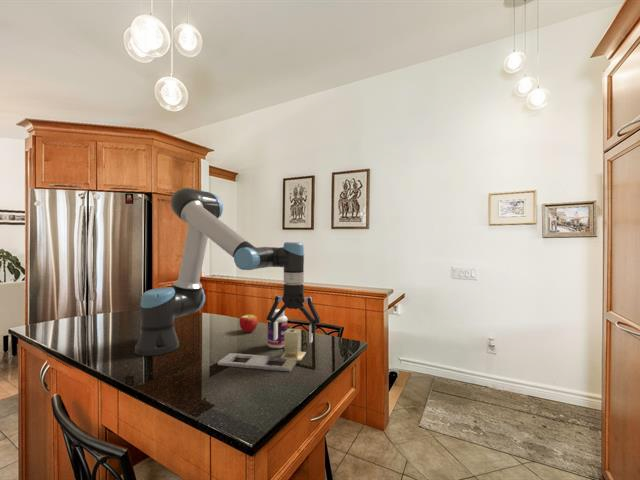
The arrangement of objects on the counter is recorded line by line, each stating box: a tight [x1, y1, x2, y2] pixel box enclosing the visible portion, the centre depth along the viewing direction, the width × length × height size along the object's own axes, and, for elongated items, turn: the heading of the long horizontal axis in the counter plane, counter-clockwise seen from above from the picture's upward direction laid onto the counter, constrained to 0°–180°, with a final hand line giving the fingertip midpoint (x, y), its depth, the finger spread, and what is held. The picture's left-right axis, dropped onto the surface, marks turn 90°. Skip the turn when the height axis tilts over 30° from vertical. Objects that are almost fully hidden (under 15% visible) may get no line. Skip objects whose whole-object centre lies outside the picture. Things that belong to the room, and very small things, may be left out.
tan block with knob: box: [283, 328, 302, 358], centre depth 114 cm, size 5×5×9 cm
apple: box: [238, 310, 259, 333], centre depth 145 cm, size 8×8×10 cm
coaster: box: [280, 351, 307, 362], centre depth 114 cm, size 8×8×1 cm
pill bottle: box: [267, 308, 289, 349], centre depth 125 cm, size 8×8×14 cm
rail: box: [217, 352, 299, 373], centre depth 107 cm, size 26×9×1 cm, turn 79°
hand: (293, 340), depth 114 cm, fingers open, 13 cm apart
